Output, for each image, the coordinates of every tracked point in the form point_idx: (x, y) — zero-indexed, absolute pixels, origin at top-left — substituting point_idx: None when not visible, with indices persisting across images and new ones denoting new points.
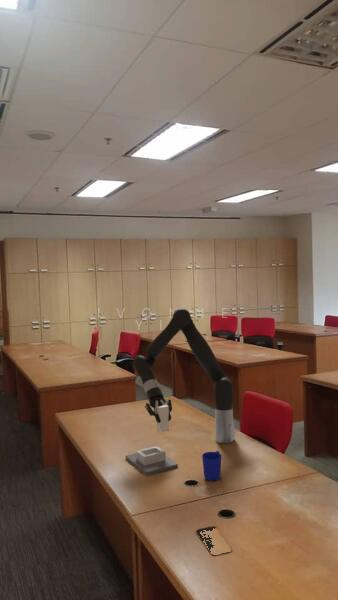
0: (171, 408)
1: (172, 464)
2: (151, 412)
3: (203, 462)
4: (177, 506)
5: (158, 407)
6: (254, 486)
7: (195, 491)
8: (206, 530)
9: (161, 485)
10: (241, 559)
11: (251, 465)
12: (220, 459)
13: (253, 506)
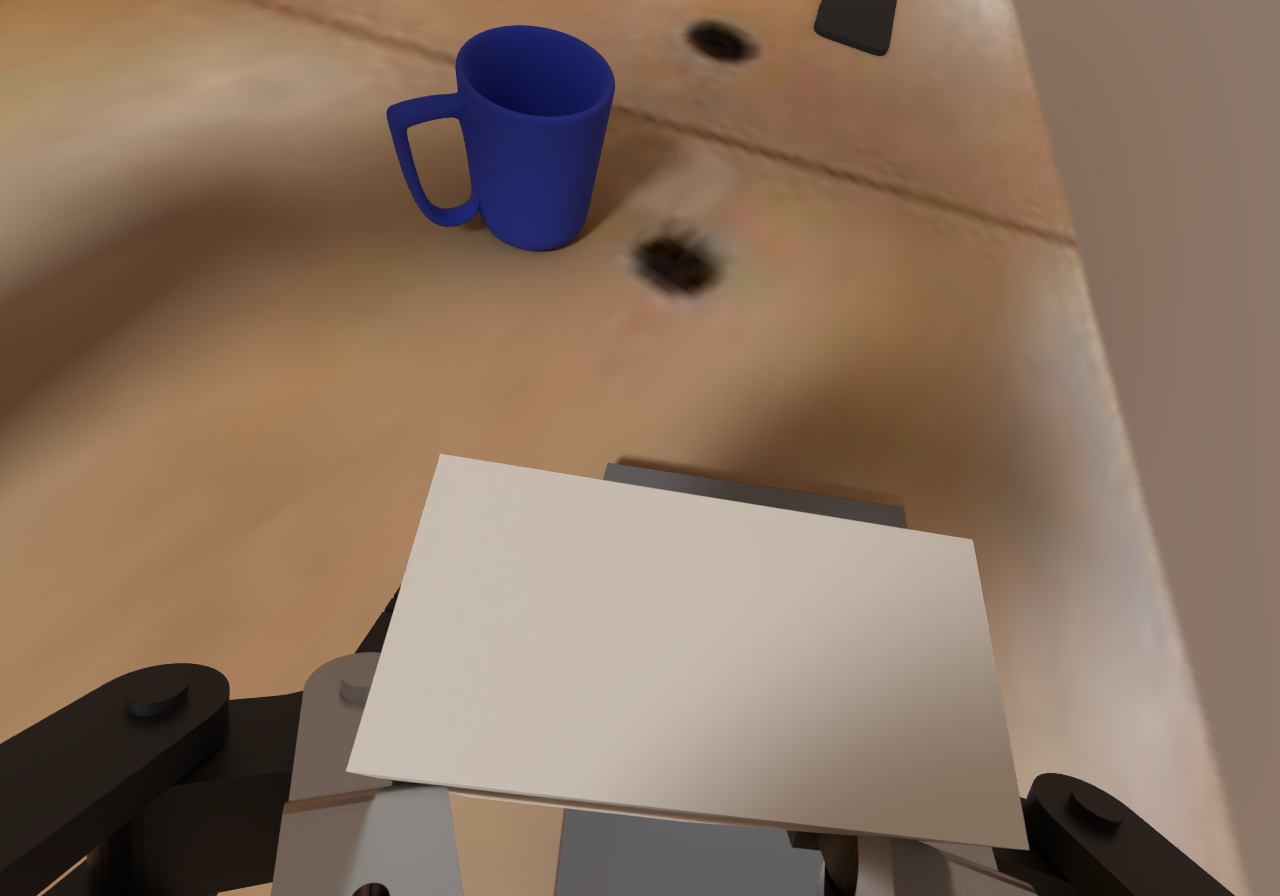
0: (112, 708)
1: (649, 484)
2: (1139, 819)
3: (604, 134)
4: (869, 173)
5: (985, 626)
6: (434, 55)
7: (719, 196)
8: (855, 31)
9: (851, 349)
10: None
11: (163, 162)
12: (512, 43)
13: (593, 4)
